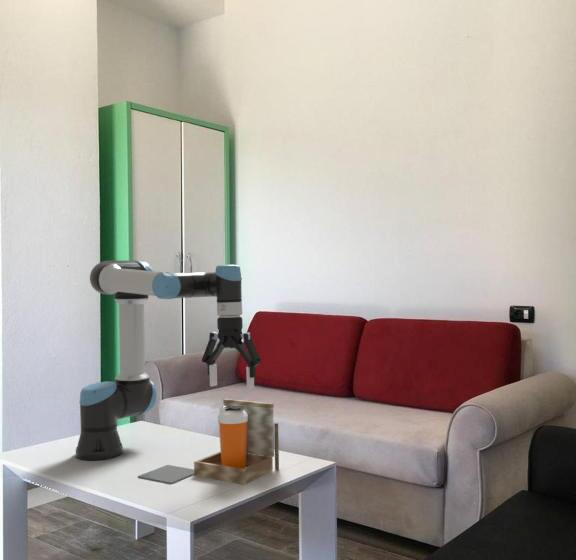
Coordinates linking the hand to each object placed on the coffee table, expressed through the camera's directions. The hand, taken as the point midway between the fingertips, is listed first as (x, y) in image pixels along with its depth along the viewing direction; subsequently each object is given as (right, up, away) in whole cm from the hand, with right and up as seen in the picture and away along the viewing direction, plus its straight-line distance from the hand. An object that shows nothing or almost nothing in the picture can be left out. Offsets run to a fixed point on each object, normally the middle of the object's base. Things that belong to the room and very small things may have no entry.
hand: (231, 387), depth 199 cm
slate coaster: (-18, -26, -1) cm, 32 cm away
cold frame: (+2, -25, 0) cm, 26 cm away
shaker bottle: (+1, -26, 0) cm, 26 cm away
